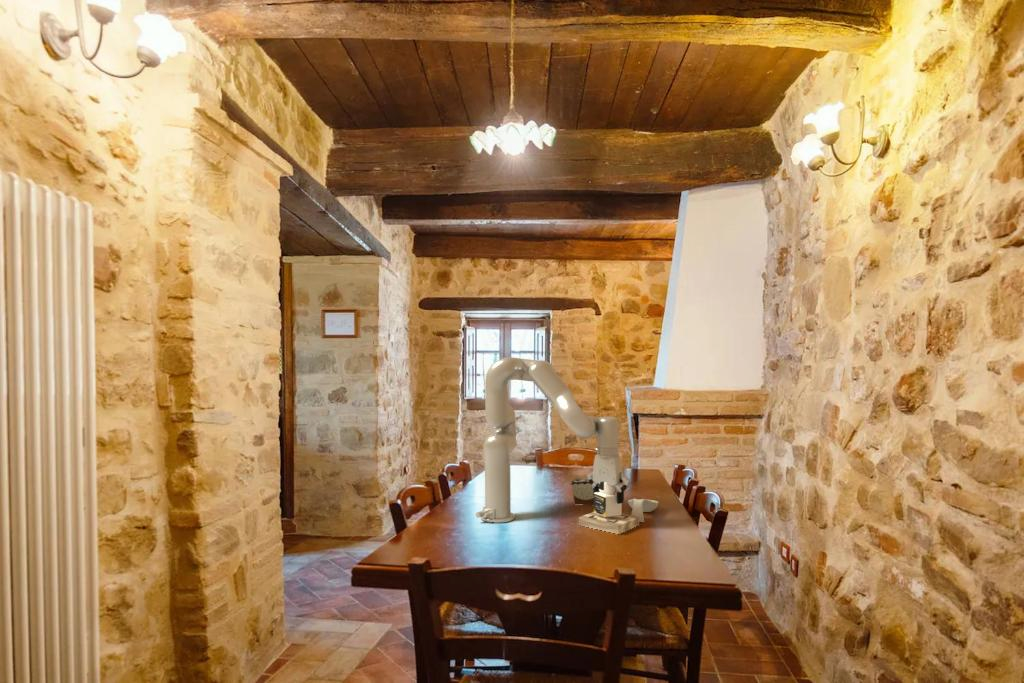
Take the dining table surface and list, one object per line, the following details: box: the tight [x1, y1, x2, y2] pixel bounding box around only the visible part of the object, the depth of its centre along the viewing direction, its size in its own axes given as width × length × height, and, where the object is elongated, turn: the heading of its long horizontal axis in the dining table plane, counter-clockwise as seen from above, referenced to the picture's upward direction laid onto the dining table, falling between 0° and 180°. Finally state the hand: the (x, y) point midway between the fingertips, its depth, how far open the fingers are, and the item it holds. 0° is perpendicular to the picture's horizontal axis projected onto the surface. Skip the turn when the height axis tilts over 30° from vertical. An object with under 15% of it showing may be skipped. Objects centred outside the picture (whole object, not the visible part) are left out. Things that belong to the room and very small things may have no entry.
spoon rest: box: [627, 498, 659, 523], centre depth 208 cm, size 24×12×7 cm, turn 161°
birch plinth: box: [578, 511, 640, 535], centre depth 193 cm, size 14×16×3 cm
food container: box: [570, 477, 599, 505], centre depth 225 cm, size 12×6×10 cm, turn 84°
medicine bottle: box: [593, 482, 623, 517], centre depth 194 cm, size 7×7×12 cm
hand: (608, 500), depth 194 cm, fingers closed on medicine bottle, 9 cm apart
